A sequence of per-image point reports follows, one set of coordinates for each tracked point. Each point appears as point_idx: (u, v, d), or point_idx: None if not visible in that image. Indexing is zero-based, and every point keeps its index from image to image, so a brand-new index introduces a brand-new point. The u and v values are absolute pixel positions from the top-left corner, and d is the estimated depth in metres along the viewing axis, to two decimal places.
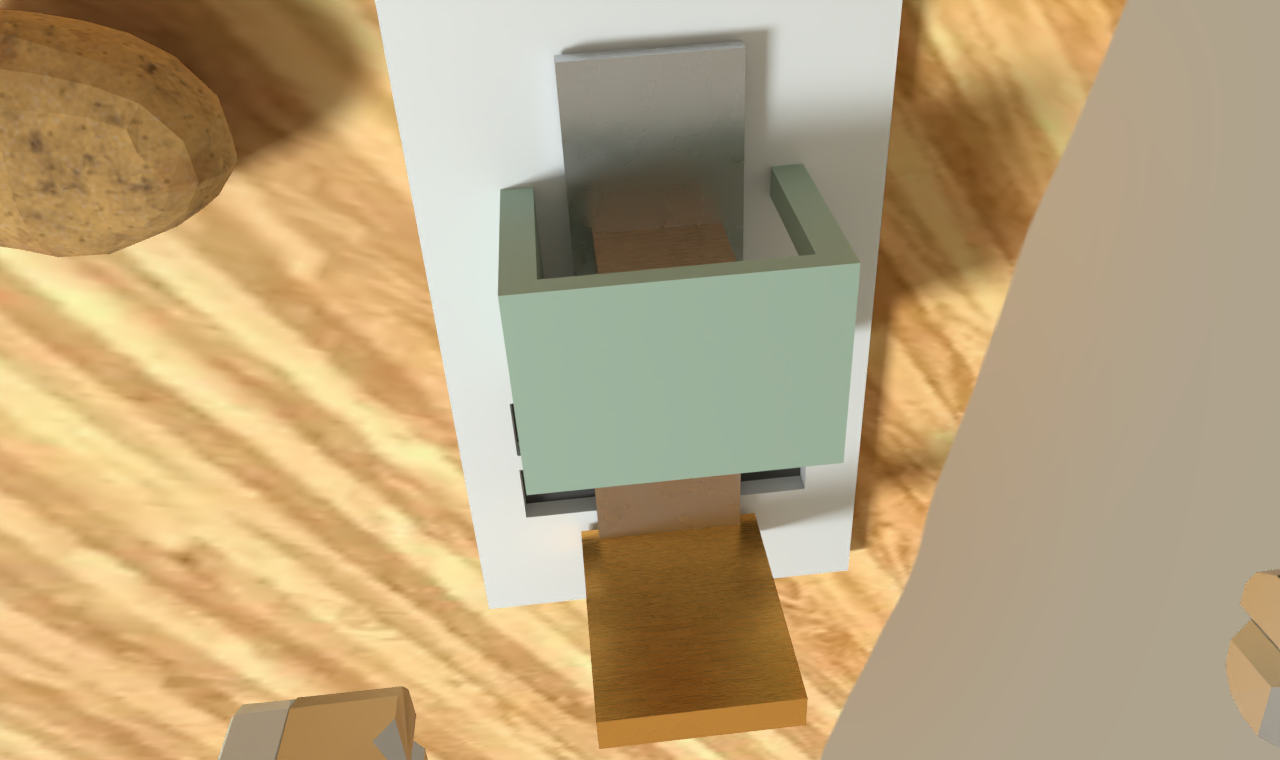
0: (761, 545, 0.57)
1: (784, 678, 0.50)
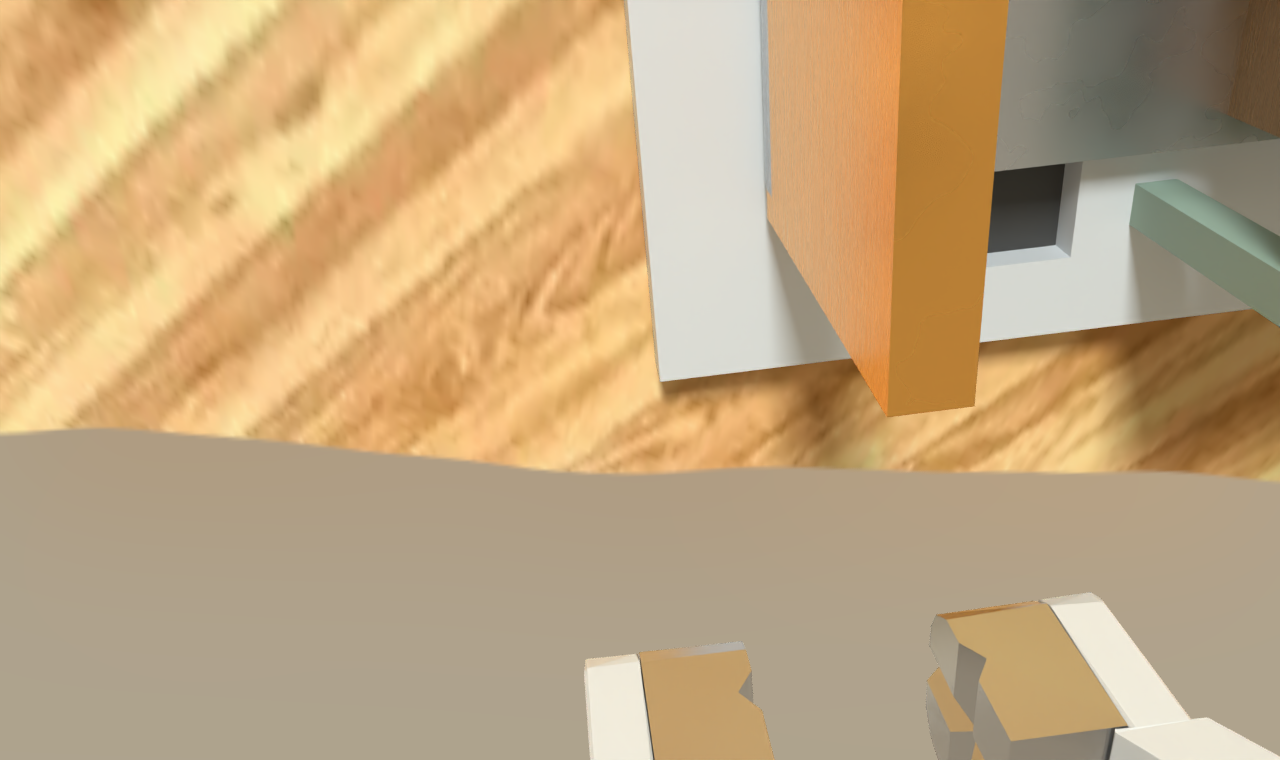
0: None
1: None
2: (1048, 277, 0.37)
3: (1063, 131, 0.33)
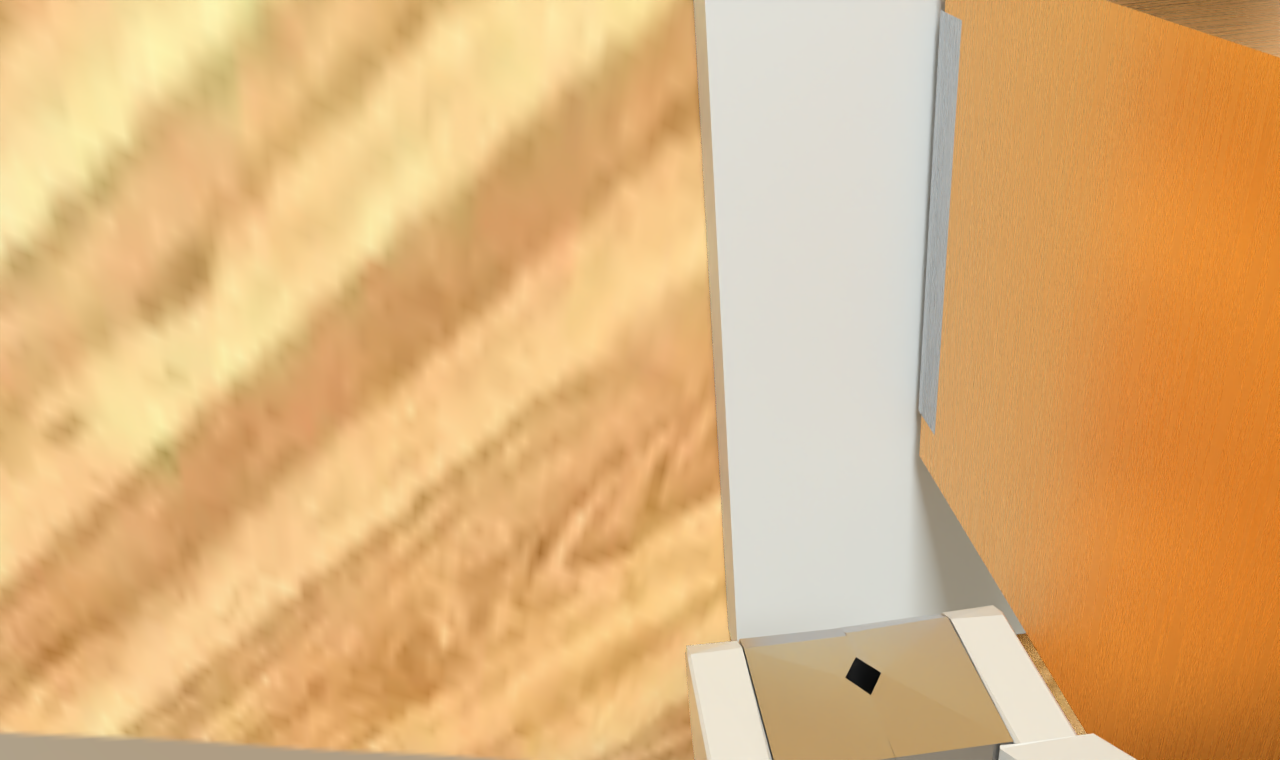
0: None
1: None
2: None
3: None
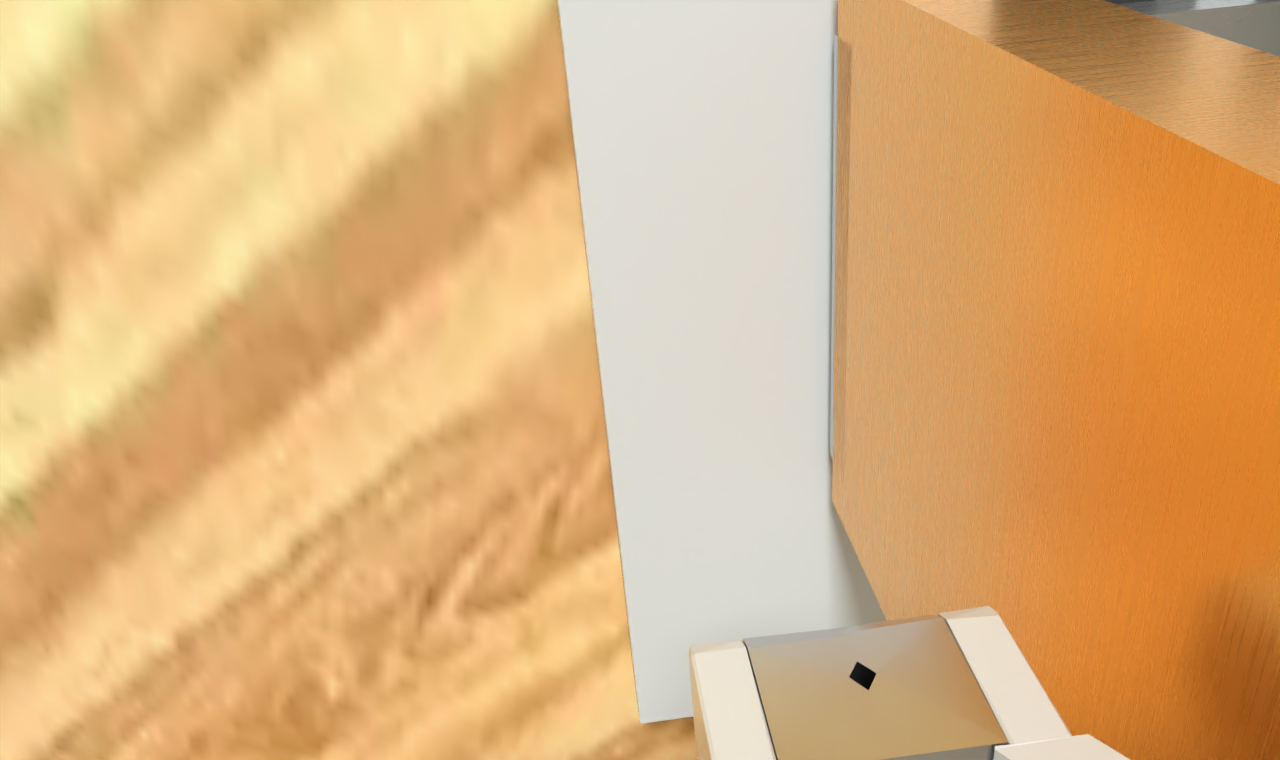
0: None
1: None
2: None
3: None
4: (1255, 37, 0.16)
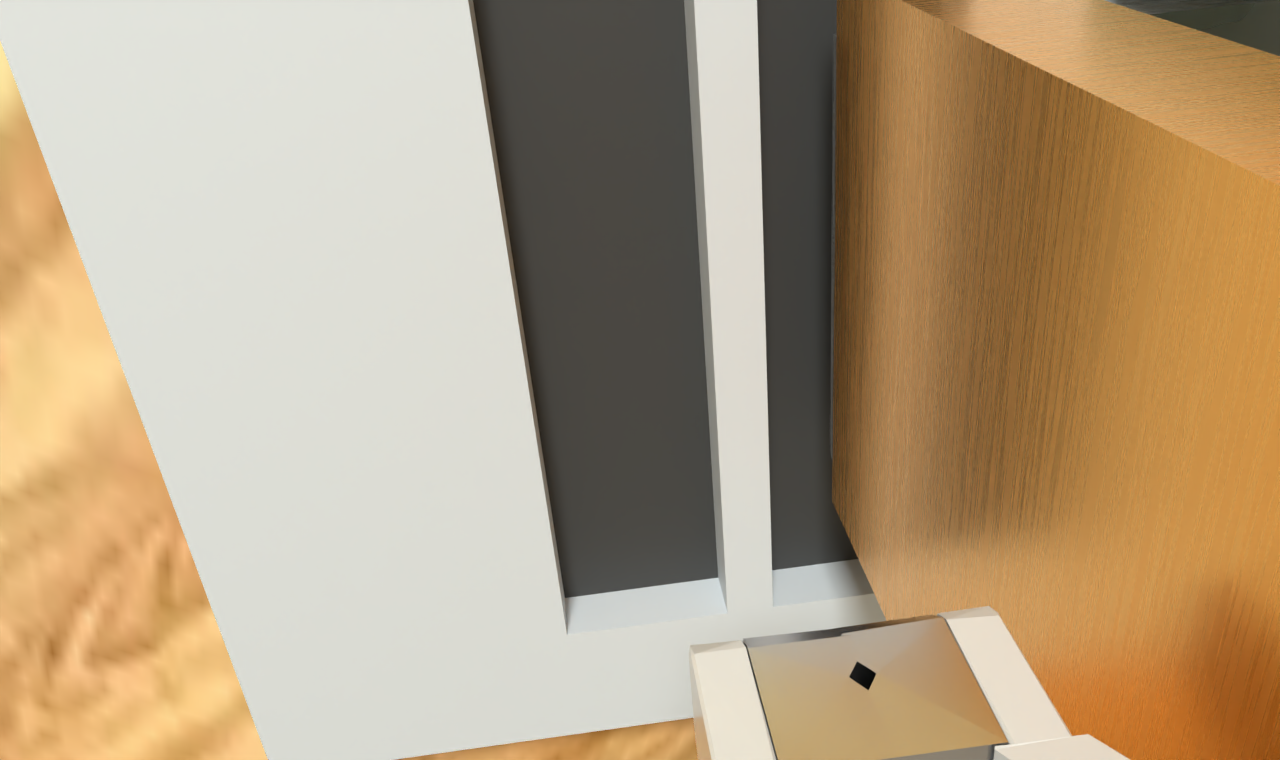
0: None
1: None
2: None
3: None
4: (1255, 36, 0.16)
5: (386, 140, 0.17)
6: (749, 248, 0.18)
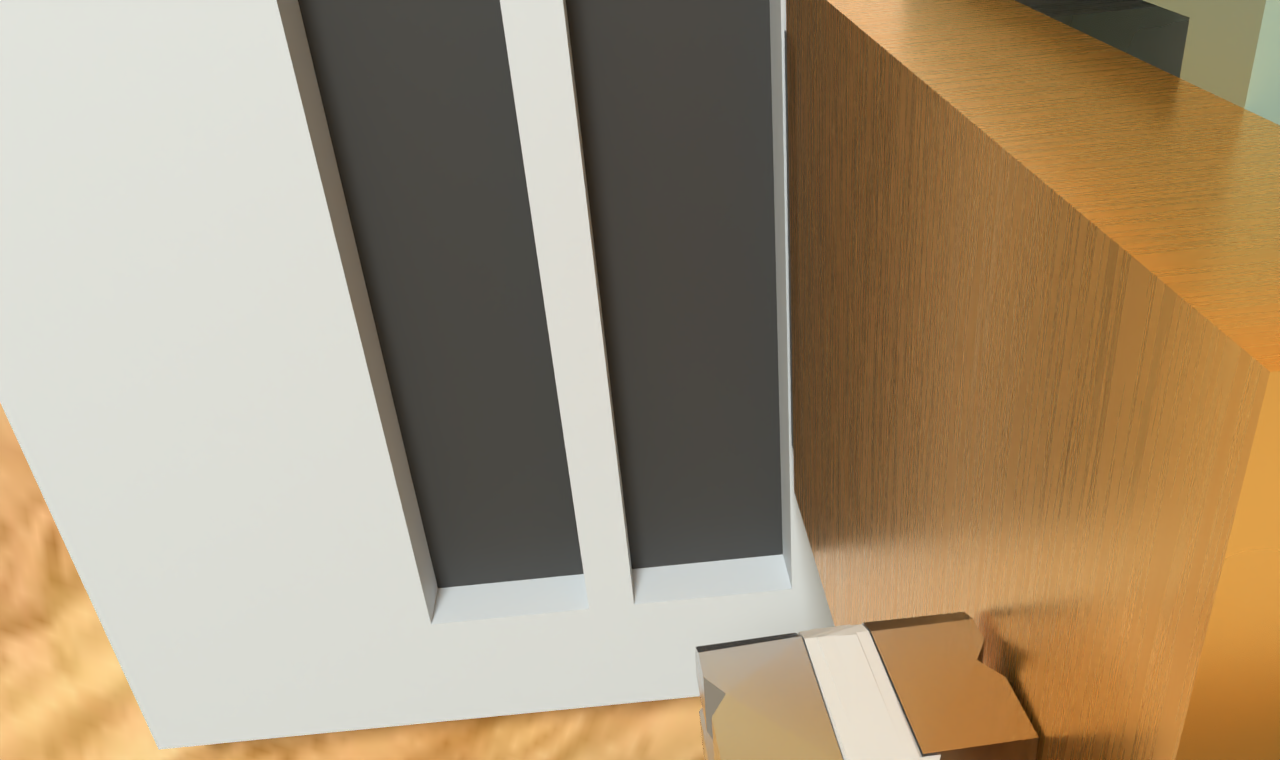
0: None
1: None
2: (759, 615, 0.23)
3: None
4: None
5: (210, 143, 0.17)
6: (578, 253, 0.19)
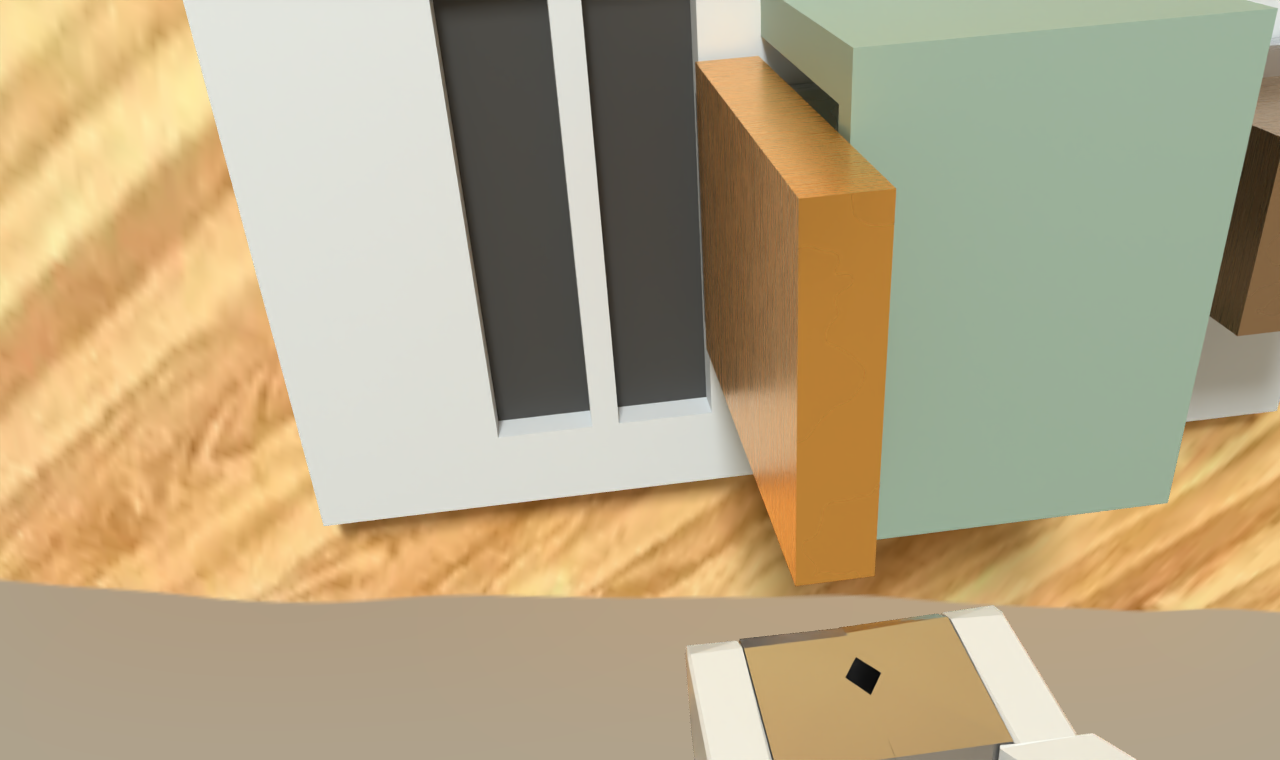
0: None
1: None
2: (692, 430, 0.39)
3: None
4: None
5: (398, 149, 0.33)
6: (592, 209, 0.34)
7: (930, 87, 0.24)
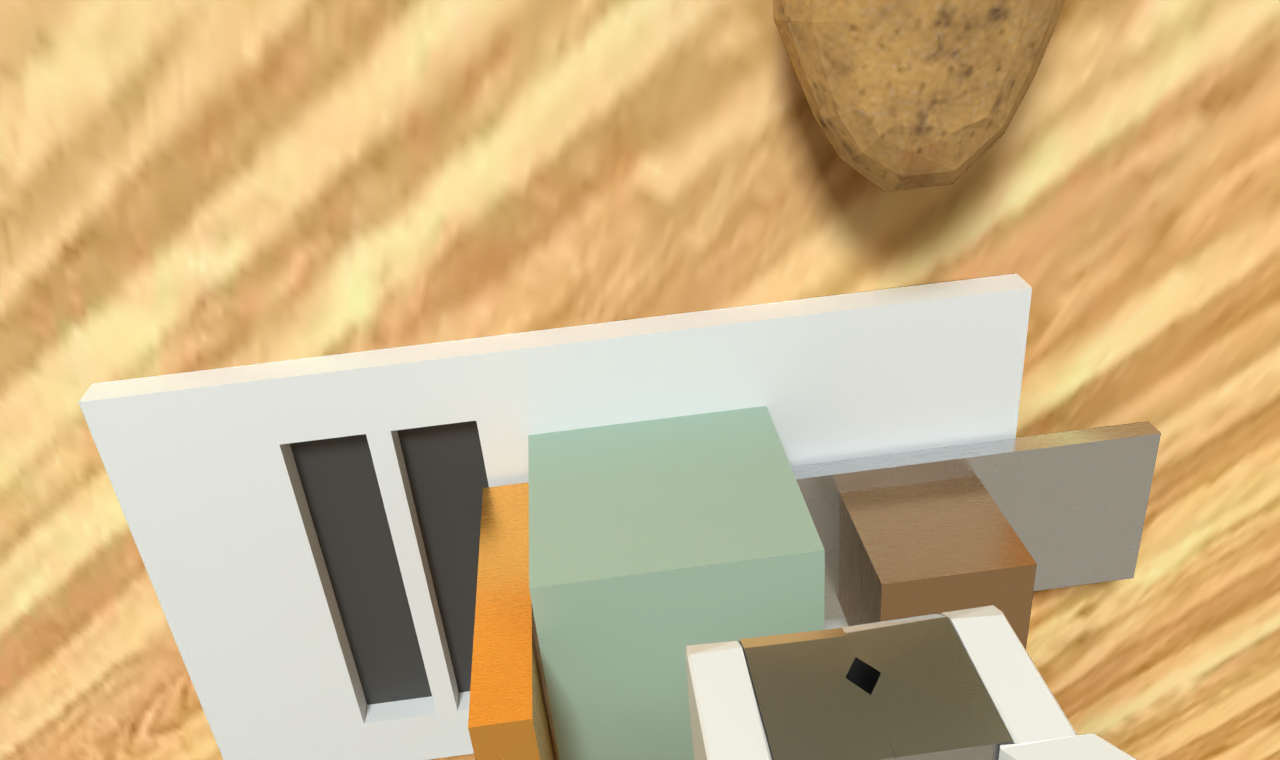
0: None
1: None
2: None
3: None
4: None
5: (269, 547, 0.44)
6: (419, 576, 0.46)
7: (587, 605, 0.35)
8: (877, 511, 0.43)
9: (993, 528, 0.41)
